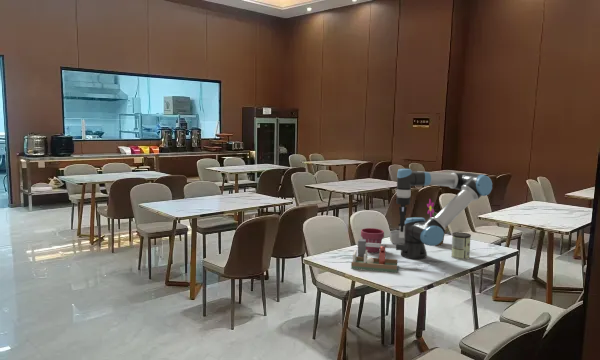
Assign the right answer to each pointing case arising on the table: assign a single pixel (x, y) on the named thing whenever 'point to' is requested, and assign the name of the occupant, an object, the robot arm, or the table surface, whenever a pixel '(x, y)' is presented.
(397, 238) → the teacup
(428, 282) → the table surface
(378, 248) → the plant pot
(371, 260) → the ball
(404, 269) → the table surface
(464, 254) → the coffee can
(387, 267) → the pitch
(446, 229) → the flowerpot
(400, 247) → the slider
